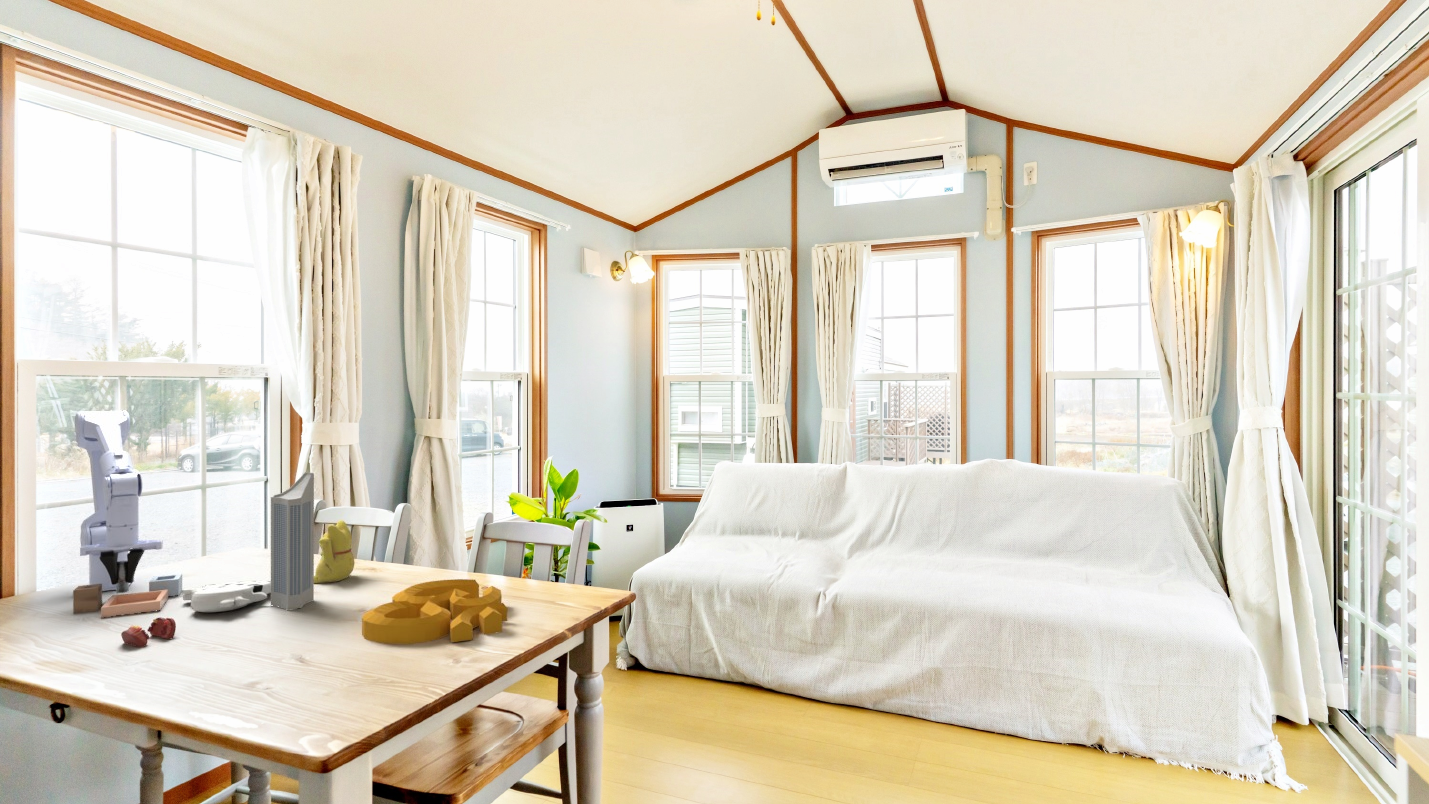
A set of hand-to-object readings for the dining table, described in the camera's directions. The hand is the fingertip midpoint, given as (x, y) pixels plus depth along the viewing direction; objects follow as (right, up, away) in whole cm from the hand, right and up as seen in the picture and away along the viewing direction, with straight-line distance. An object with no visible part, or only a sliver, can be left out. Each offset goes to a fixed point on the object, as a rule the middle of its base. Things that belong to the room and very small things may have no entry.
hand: (122, 582), depth 162 cm
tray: (+8, -4, -6) cm, 11 cm away
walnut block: (-1, -4, -7) cm, 8 cm away
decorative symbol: (+80, -6, -12) cm, 81 cm away
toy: (+26, -5, -2) cm, 27 cm away
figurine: (+39, -4, +18) cm, 44 cm away
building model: (+41, -5, -2) cm, 41 cm away
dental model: (+27, -5, -26) cm, 37 cm away
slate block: (+7, -4, +4) cm, 9 cm away
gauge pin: (0, -2, 0) cm, 2 cm away
